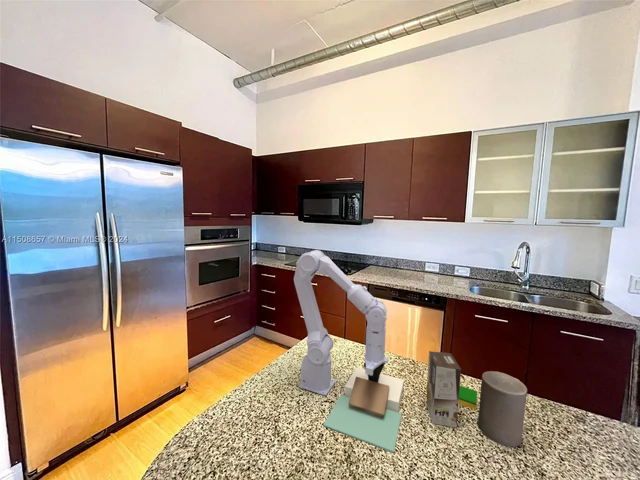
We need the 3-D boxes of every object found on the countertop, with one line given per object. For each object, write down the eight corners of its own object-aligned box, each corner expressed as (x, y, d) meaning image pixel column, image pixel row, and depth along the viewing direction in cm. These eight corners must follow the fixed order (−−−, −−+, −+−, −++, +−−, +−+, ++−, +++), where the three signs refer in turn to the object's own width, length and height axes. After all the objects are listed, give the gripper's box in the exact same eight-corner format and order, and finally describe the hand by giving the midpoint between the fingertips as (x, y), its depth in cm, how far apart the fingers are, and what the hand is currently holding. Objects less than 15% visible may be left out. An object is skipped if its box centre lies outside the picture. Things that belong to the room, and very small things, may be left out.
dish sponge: (429, 382, 90) (430, 375, 90) (476, 398, 83) (477, 390, 82) (425, 393, 84) (426, 386, 84) (475, 411, 77) (476, 403, 76)
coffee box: (458, 428, 70) (462, 369, 68) (432, 424, 71) (435, 366, 70) (448, 405, 78) (451, 352, 77) (425, 401, 80) (428, 350, 79)
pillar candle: (469, 423, 71) (473, 370, 70) (492, 413, 75) (496, 363, 74) (507, 453, 63) (513, 393, 61) (531, 439, 67) (537, 383, 65)
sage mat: (323, 426, 69) (323, 424, 69) (341, 395, 81) (341, 394, 81) (393, 452, 62) (393, 451, 61) (401, 415, 74) (401, 413, 74)
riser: (344, 395, 81) (344, 386, 81) (355, 375, 92) (356, 367, 92) (398, 412, 75) (398, 402, 74) (403, 388, 86) (403, 379, 85)
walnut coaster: (349, 406, 76) (348, 403, 75) (356, 380, 82) (356, 376, 81) (384, 418, 72) (383, 414, 71) (389, 389, 78) (389, 385, 77)
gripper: (384, 356, 72) (381, 404, 73) (392, 335, 85) (390, 376, 86) (358, 350, 74) (357, 396, 75) (371, 331, 88) (369, 370, 89)
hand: (373, 385), depth 81 cm, fingers closed
